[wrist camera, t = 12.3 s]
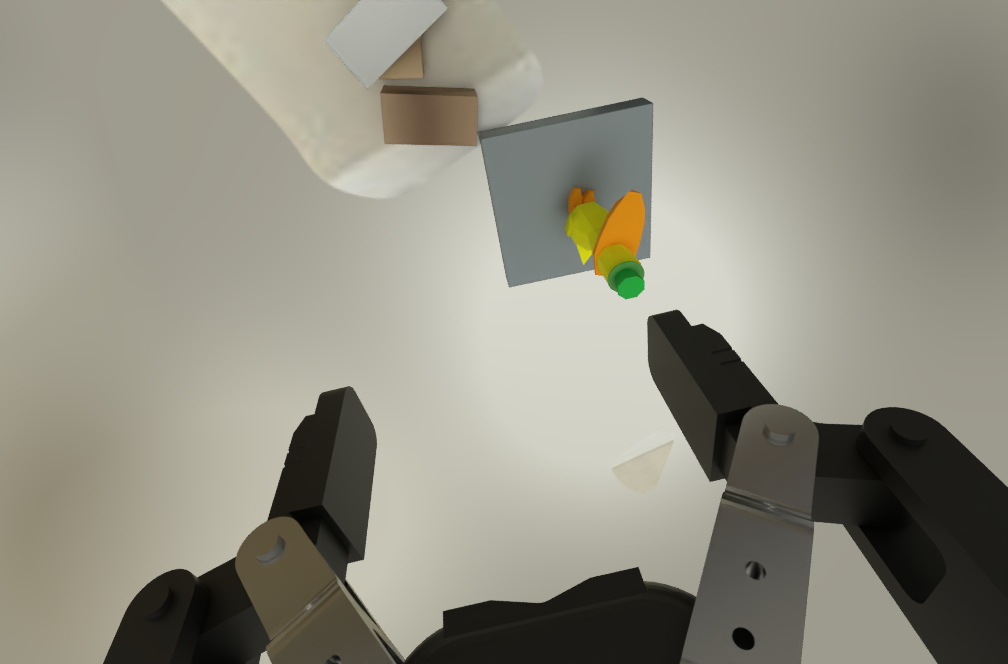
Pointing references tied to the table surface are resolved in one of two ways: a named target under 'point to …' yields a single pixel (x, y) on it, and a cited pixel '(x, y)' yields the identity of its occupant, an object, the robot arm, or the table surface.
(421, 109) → the walnut brick
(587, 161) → the slate stand
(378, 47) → the grey brick
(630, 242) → the toy figure
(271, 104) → the table surface
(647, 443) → the table surface
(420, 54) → the oak brick
